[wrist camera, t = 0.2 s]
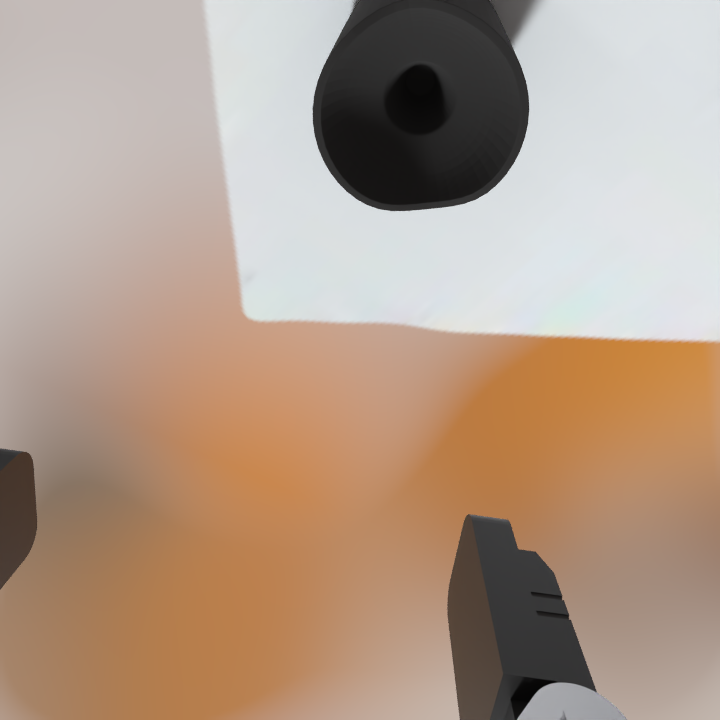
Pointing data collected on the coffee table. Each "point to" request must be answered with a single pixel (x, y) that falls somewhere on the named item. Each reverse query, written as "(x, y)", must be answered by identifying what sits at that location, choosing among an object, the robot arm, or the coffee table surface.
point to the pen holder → (420, 103)
